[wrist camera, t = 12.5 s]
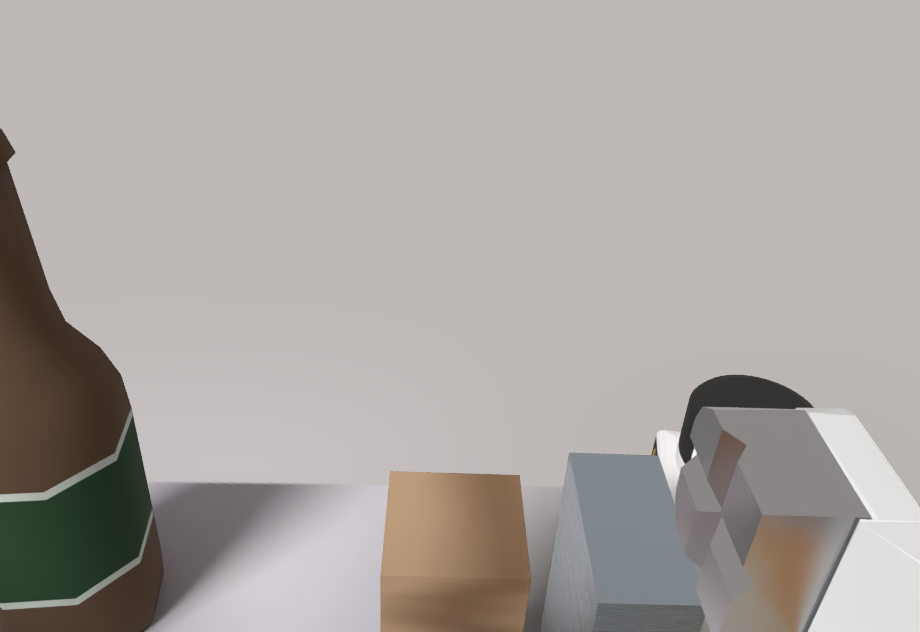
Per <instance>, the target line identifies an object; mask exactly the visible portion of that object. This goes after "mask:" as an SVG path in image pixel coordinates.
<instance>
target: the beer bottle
mask: <svg viewBox="0 0 920 632" xmlns="http://www.w3.org/2000/svg"><path fill="white" fill-rule="evenodd" d="M14 153H15V151H14V149H13V147H12V146H11V144H10V142H9V141H8V139H7V137H6V136H5V134H4V133H3V131H2V129H0V632H141V631H143V630H144V629H145V628H147V627H148V626H150V624H151V622H152V619H153V614H154V610H155V606H156V602H157V598H158V594H159V589H160V585H161V581H162V577H163V564H162V556H161V548H160V543H159V538H158V533H157V528H156V524H155V519H154V514H153V509H152V504H151V500H150V495H149V490H148V485H147V480H146V475H145V471H144V466H143V461H142V456H141V451H140V447H139V442H138V437H137V432H136V428H135V423H134V418H133V413H132V409H131V405H130V402H129V399H128V396H127V392H126V389H125V386H124V383H123V380H122V377H121V374H120V373H119V372H118V370H117V369H116V368H115V366H114V365H113V364H112V362H111V361H110V360H109V358H108V357H107V356H106V354H105V353H104V352H103V351H102V349H101V348H100V347H99V346H97V345H96V344H95V343H94V342H92V341H91V340H90V339H88V338H87V337H86V336H84V335H83V334H82V333H80V332H79V331H78V330H76V329H75V328H74V327H72V326H71V325H70V324H68V323H67V322H66V321H65V319H64V317H63V315H62V313H61V311H60V309H59V307H58V305H57V303H56V301H55V299H54V297H53V295H52V293H51V291H50V289H49V286H48V284H47V280H46V277H45V274H44V271H43V269H42V265H41V262H40V259H39V256H38V254H37V251H36V248H35V245H34V242H33V239H32V236H31V233H30V230H29V227H28V224H27V221H26V218H25V215H24V212H23V209H22V206H21V203H20V200H19V197H18V194H17V191H16V188H15V185H14V182H13V179H12V176H11V173H10V170H9V167H8V164H7V161H8V160H9V159H10V158H11V157H12V156H13V155H14Z"/></svg>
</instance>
